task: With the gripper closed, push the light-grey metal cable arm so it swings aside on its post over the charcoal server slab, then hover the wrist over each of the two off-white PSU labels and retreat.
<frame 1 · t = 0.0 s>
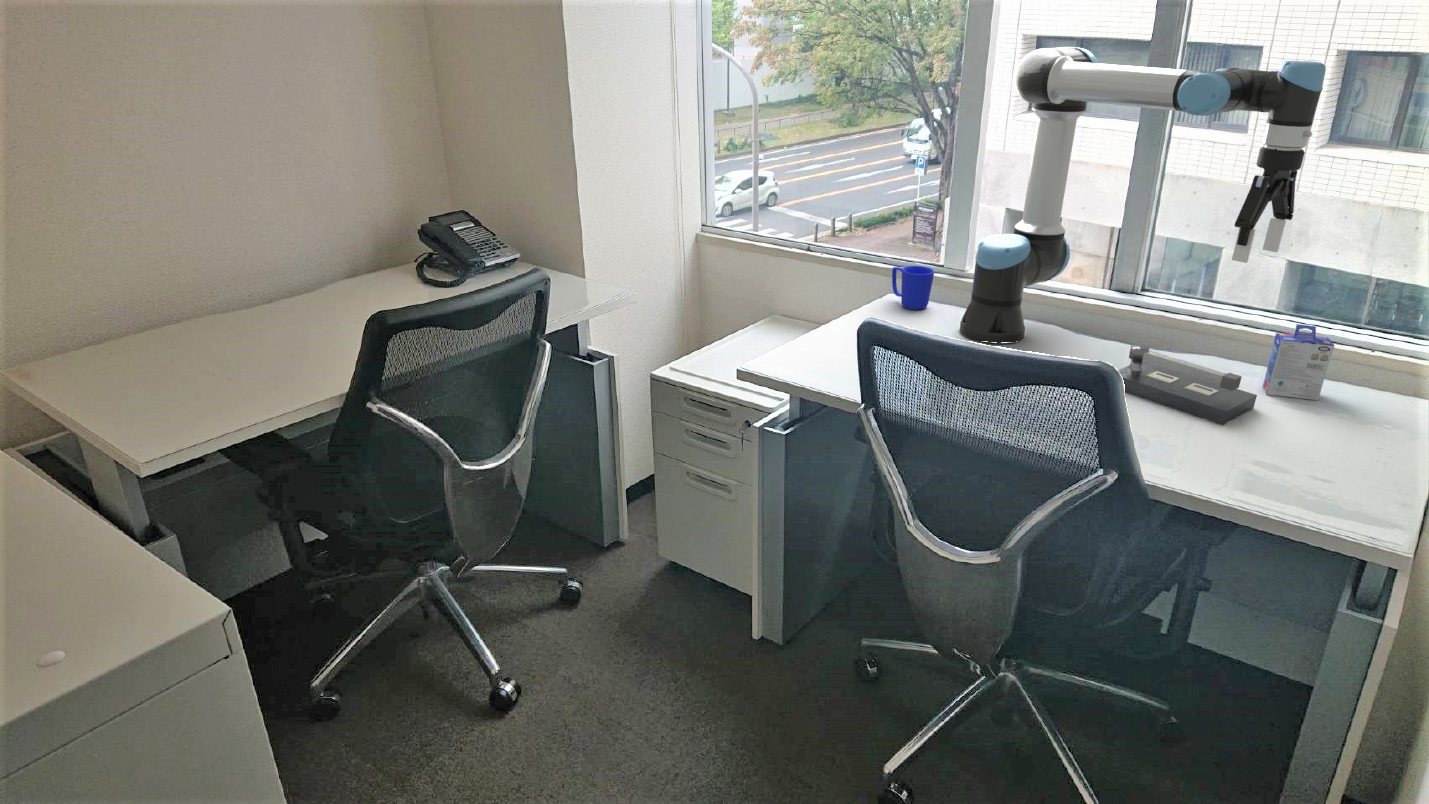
hand: (1255, 256, 185), 28 cm above the table, fingers open, 13 cm apart
mug: (908, 305, 244), on the table
ink cartridge box: (1289, 394, 193), on the table
server slab: (1178, 397, 190), on the table
cable arm: (1181, 366, 188), point 7 cm above the table, hinge at 0.0°
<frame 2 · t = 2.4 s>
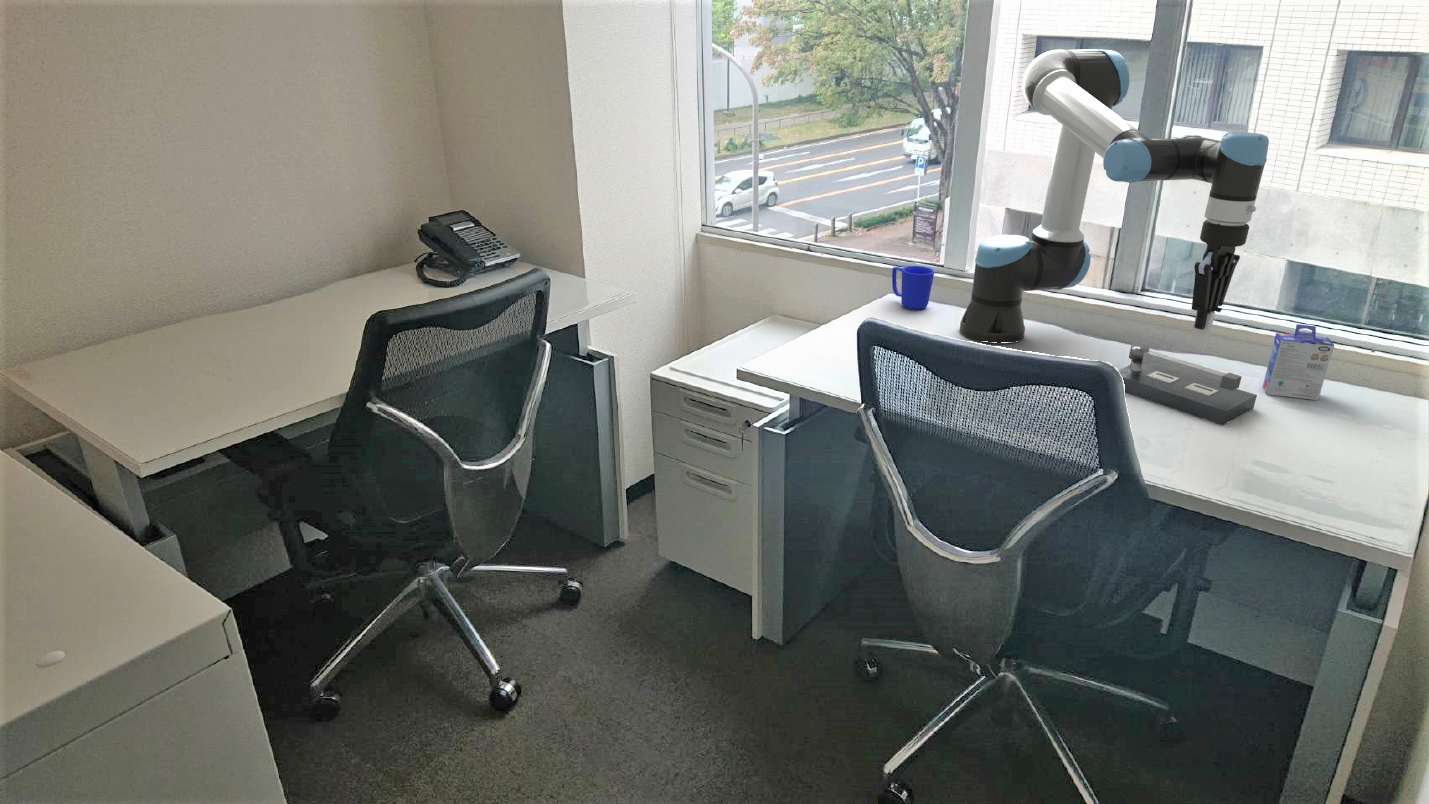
hand: (1198, 343, 177), 15 cm above the table, fingers closed
nothing on the table moved.
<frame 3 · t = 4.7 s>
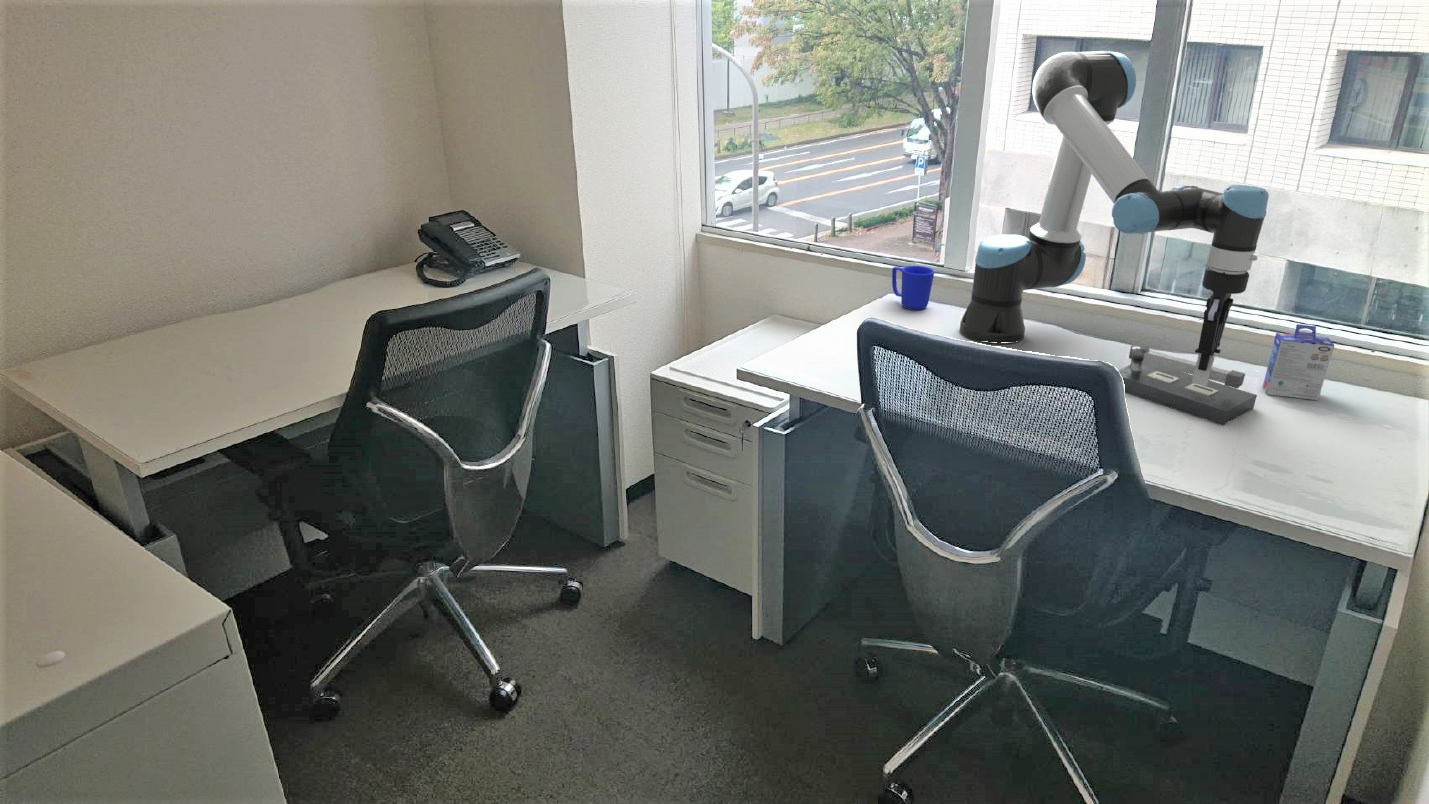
hand: (1199, 383, 185), 4 cm above the table, fingers closed
cable arm: (1183, 365, 188), point 7 cm above the table, hinge at 6.0°, touching gripper
everything else where it was.
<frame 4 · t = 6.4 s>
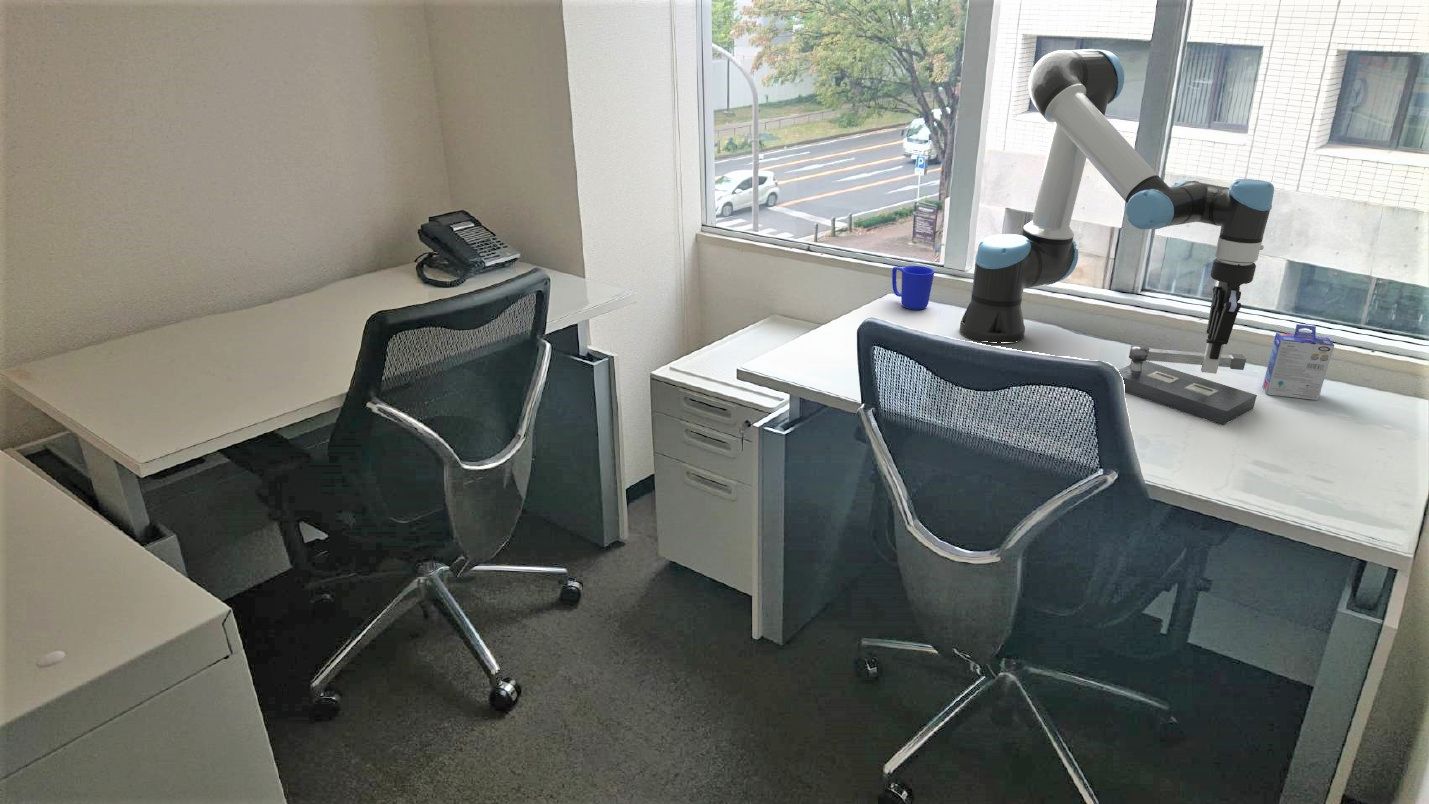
hand: (1208, 371, 191), 4 cm above the table, fingers closed
cable arm: (1185, 357, 192), point 7 cm above the table, hinge at 39.5°, touching gripper
everything else where it was.
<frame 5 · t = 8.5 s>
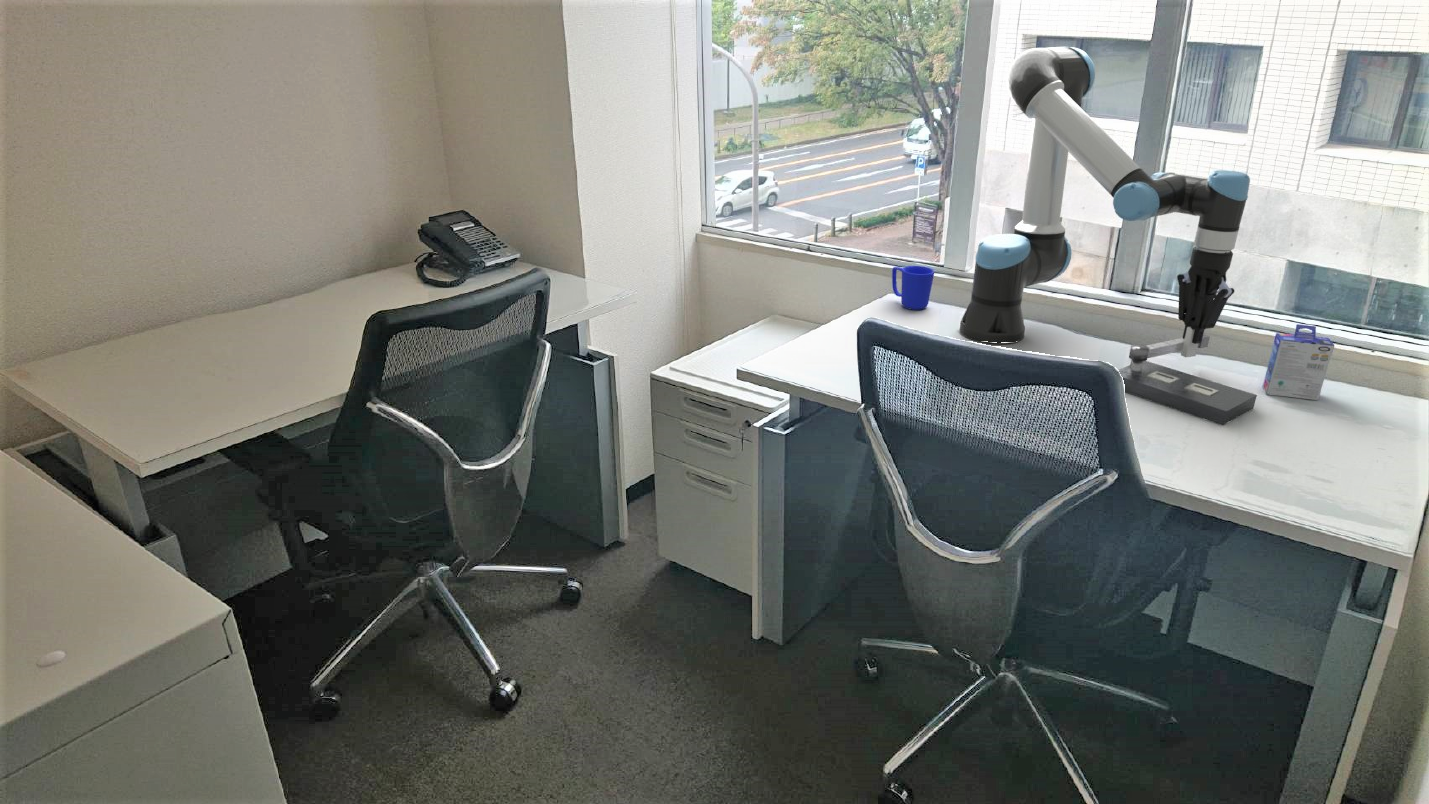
hand: (1188, 355, 199), 4 cm above the table, fingers closed
cable arm: (1168, 346, 198), point 7 cm above the table, hinge at 78.6°, touching gripper
everything else where it was.
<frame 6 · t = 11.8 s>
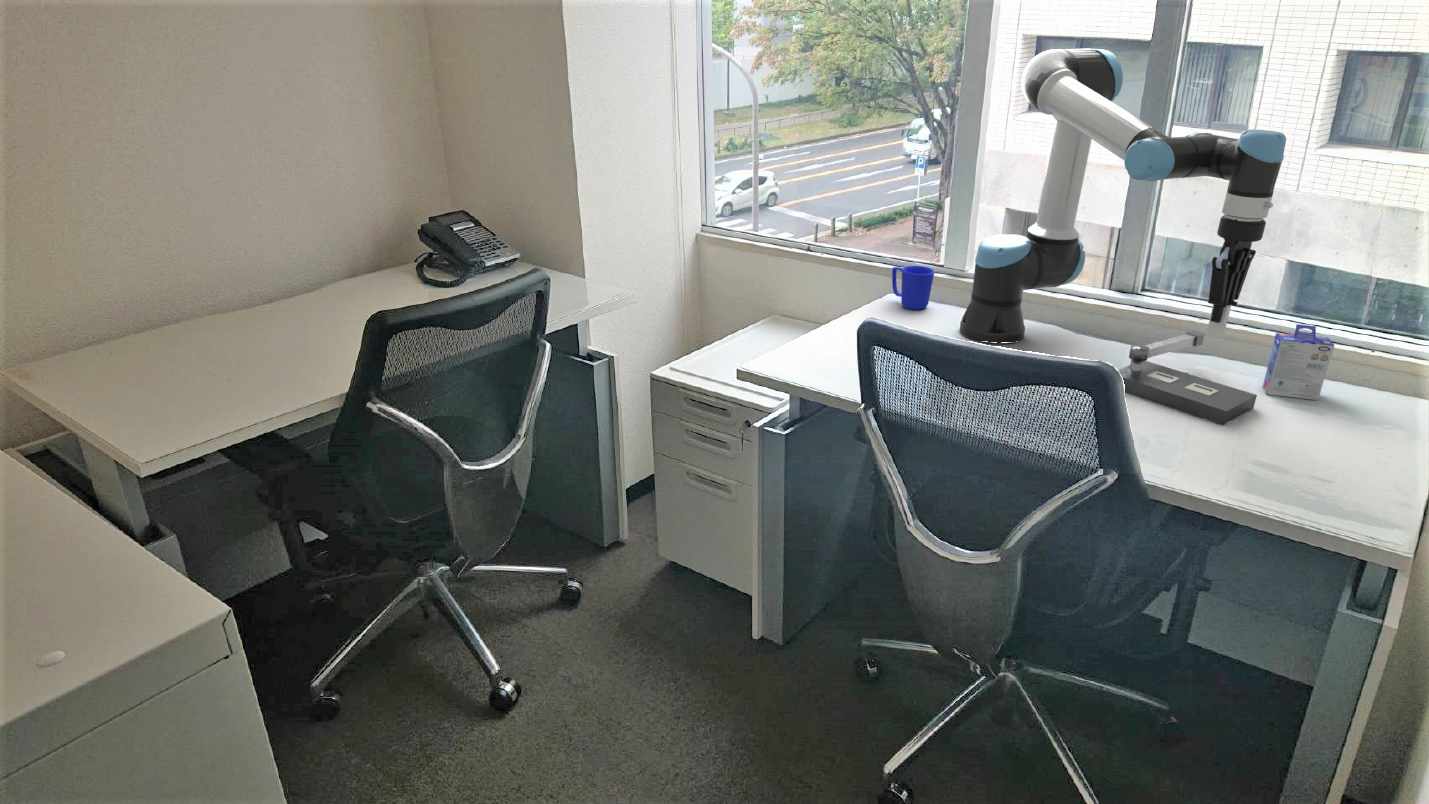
hand: (1214, 336, 181), 14 cm above the table, fingers closed
cable arm: (1166, 345, 199), point 7 cm above the table, hinge at 82.5°
everything else where it was.
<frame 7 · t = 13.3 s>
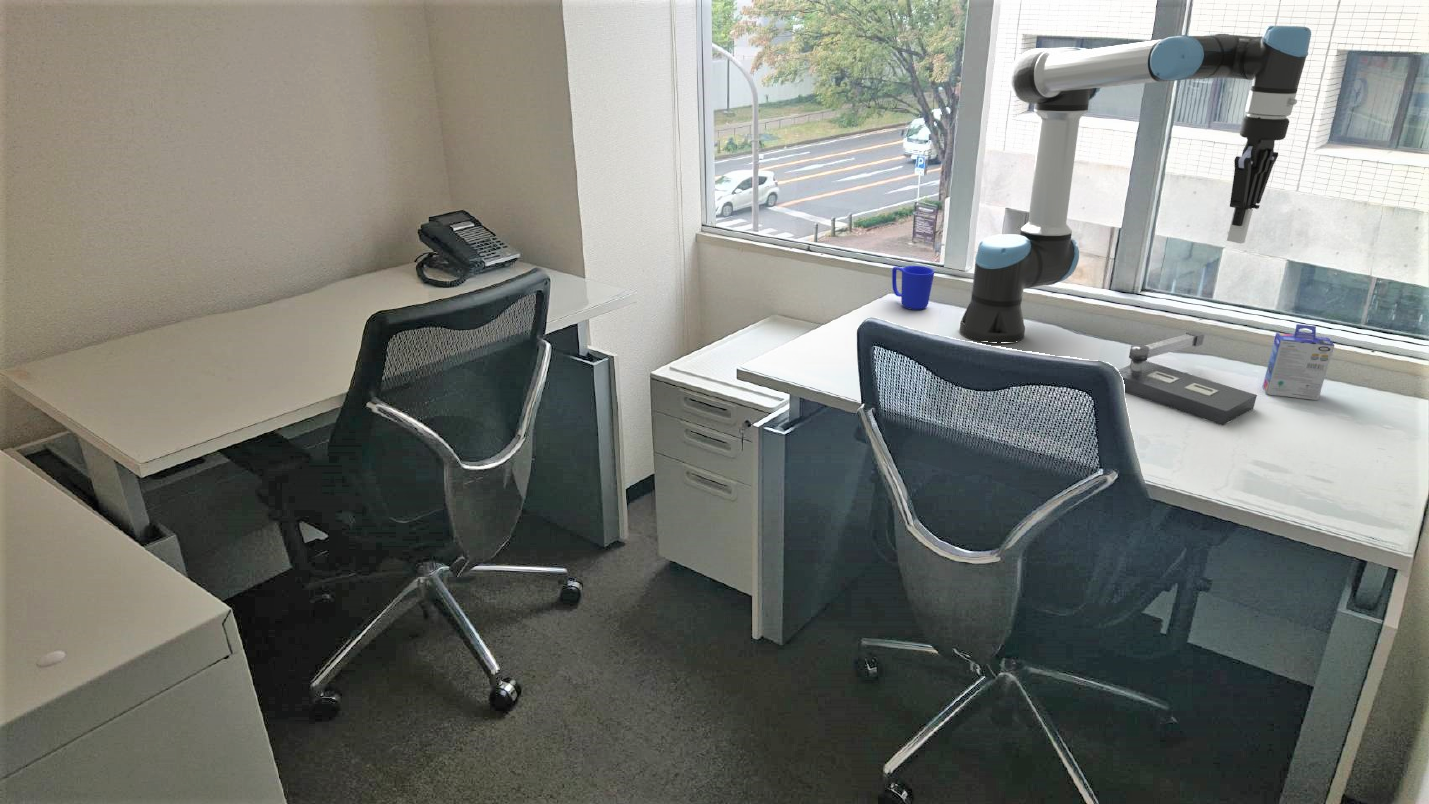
hand: (1235, 241, 180), 32 cm above the table, fingers closed
nothing on the table moved.
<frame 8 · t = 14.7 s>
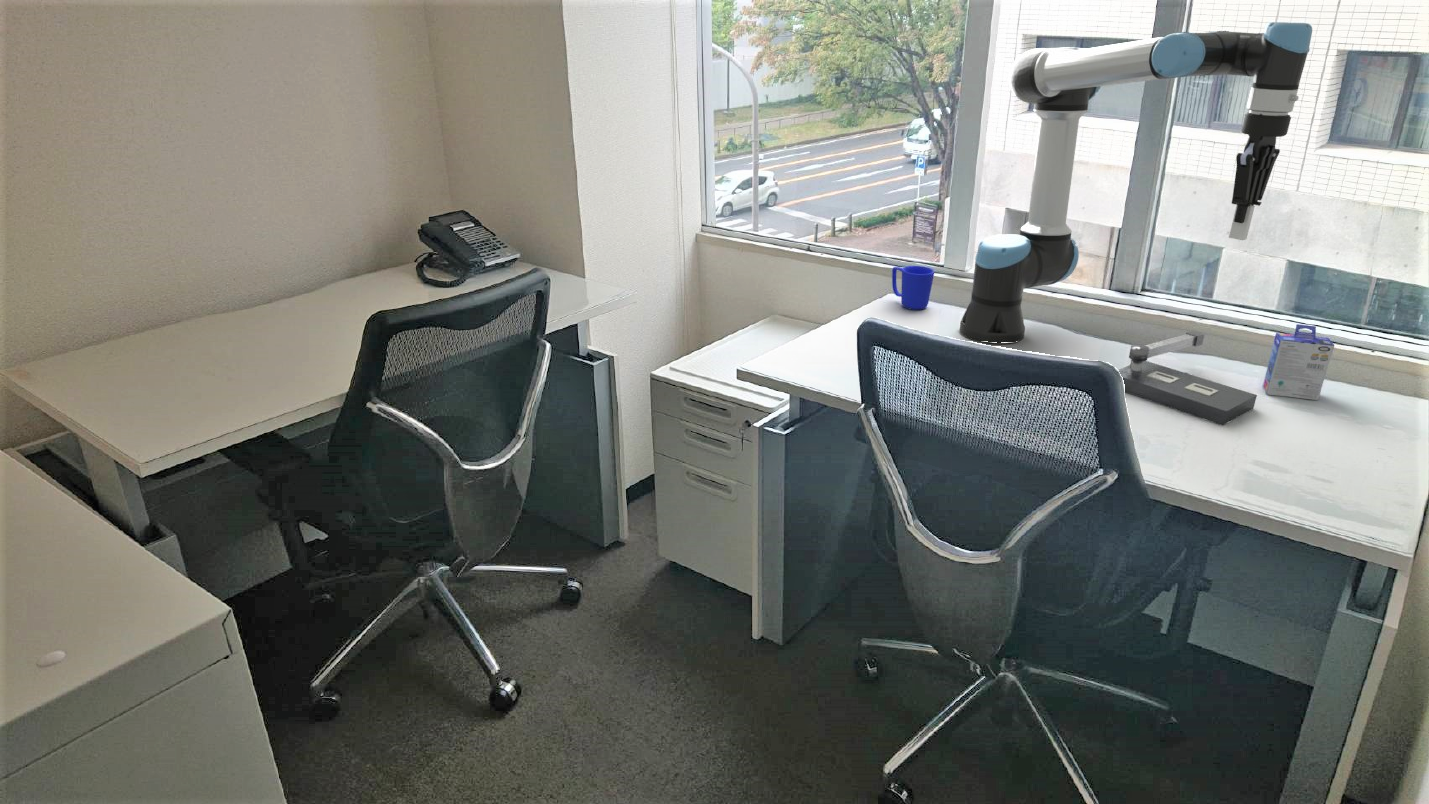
hand: (1237, 238, 180), 32 cm above the table, fingers closed
nothing on the table moved.
at the end: cable arm at +82° (first picture: +0°); ink cartridge box moved 0.3 cm from its start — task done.
